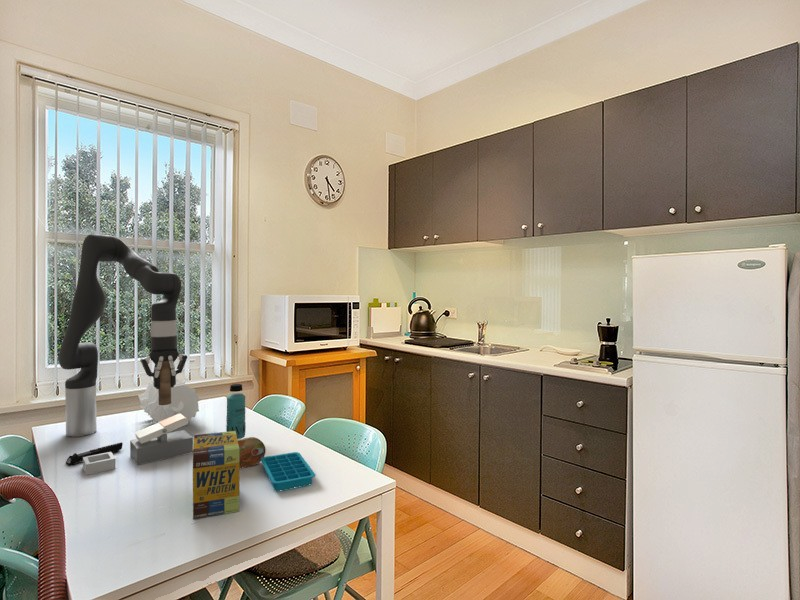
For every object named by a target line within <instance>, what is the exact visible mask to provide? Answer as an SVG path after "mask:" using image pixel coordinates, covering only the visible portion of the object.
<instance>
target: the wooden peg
mask: <svg viewBox="0 0 800 600" xmlns="http://www.w3.org/2000/svg"><path fill="white" fill-rule="evenodd" d="M159 378H160V389H158V392H159V405H168V404H171V369H170V364H169V361H163V362H162V366H161V370H160V373H159Z"/></svg>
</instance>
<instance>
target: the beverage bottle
mask: <svg viewBox="0 0 800 600" xmlns="http://www.w3.org/2000/svg"><path fill="white" fill-rule="evenodd" d="M242 391H243V384H242V383H232V384H230V387H229V392H232V393H230V394H229V395H228V396H226V419H225V421H226V428H225V431H226V432H229V431H236V435H237V439H243V438H246V429H247V428H246V427H247V426H246V395H245V394H243V393H242Z"/></svg>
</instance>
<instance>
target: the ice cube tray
mask: <svg viewBox="0 0 800 600" xmlns="http://www.w3.org/2000/svg"><path fill="white" fill-rule="evenodd" d="M261 464H262V466H263V469H264V471H265V474H266V475H267V477H269V478H268V479H270V480H269V482H270V481H271V482H270V484H271V486H272V488H273V489H274V491H275V490H276V492H281V491H280V490H283V491H286V490H285V489H288V490H291V489H290V488H293V489H295V488H294V487H298V488H300V487H299V486H303V487H305V486H304V485H308V486H310V485H309V484H311V485H312V481H313V479H314V478H315V477H316V473H315V472H314V471H313V469H312V468H311V467H310V465H309V464H308V462H307V460H306V459H305V458H304V457H303V456H302V454H301V453H300V452H298V451H293V452H288V453H282V454H274V455H268V456H264V457H263V458H261Z"/></svg>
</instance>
